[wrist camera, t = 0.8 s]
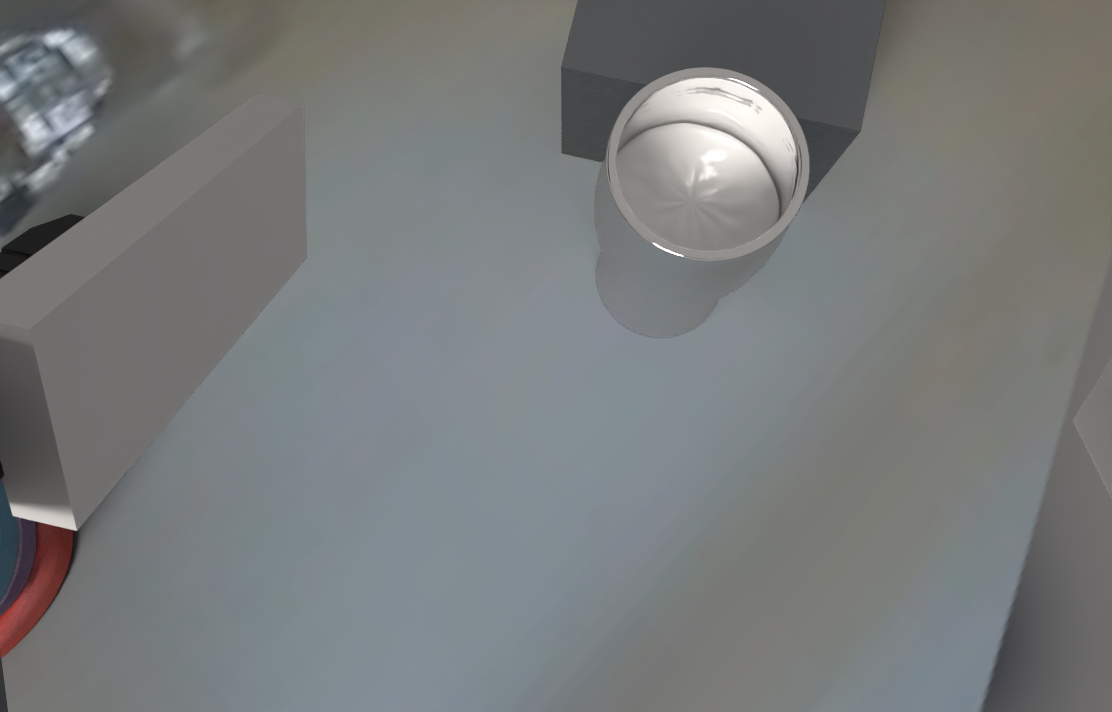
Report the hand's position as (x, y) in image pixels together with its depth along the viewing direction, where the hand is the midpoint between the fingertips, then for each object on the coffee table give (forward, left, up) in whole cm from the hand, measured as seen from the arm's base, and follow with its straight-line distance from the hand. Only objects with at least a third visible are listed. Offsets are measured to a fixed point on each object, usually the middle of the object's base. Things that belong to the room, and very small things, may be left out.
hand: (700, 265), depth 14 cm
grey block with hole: (-10, +11, -29) cm, 33 cm away
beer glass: (-5, +6, -29) cm, 30 cm away
